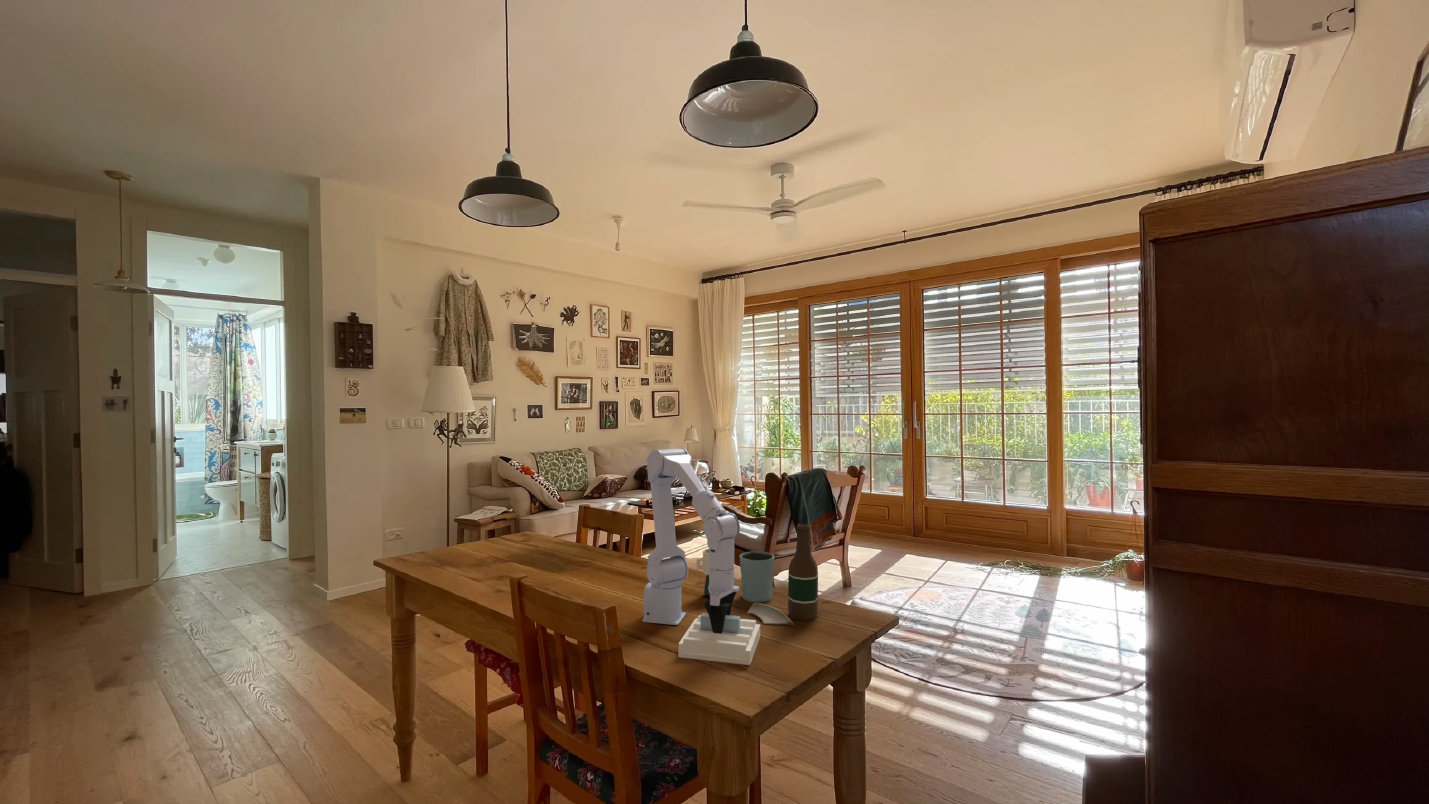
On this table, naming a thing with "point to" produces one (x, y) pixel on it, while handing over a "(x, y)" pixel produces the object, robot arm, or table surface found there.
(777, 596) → the table surface
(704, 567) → the cream and green mug
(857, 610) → the table surface
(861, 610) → the table surface
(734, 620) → the tile
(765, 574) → the light blue cup
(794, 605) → the beer bottle
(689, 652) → the rack
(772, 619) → the ceramic fragment
